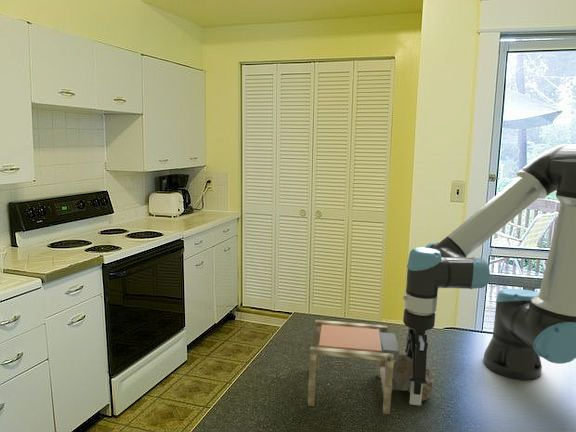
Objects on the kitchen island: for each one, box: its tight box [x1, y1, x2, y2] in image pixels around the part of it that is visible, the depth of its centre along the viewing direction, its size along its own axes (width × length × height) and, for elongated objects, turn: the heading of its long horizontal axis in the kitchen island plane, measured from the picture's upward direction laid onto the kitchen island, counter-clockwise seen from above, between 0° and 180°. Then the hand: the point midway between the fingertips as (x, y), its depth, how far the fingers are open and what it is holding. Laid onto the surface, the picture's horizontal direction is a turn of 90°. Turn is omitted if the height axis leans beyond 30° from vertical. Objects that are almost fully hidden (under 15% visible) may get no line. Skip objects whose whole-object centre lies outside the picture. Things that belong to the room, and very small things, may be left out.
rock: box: [392, 353, 435, 402], centre depth 113 cm, size 9×12×10 cm
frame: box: [307, 319, 395, 415], centre depth 114 cm, size 20×18×15 cm
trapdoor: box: [319, 325, 400, 361], centre depth 112 cm, size 19×14×3 cm
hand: (412, 393), depth 114 cm, fingers open, 9 cm apart
